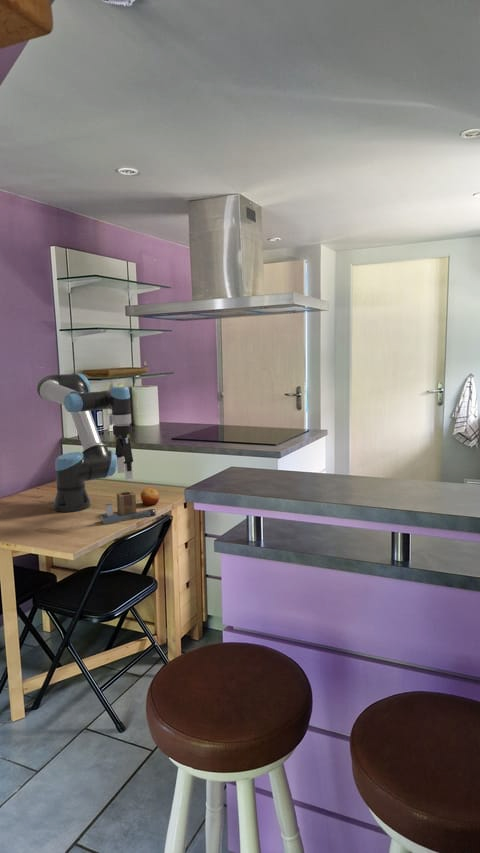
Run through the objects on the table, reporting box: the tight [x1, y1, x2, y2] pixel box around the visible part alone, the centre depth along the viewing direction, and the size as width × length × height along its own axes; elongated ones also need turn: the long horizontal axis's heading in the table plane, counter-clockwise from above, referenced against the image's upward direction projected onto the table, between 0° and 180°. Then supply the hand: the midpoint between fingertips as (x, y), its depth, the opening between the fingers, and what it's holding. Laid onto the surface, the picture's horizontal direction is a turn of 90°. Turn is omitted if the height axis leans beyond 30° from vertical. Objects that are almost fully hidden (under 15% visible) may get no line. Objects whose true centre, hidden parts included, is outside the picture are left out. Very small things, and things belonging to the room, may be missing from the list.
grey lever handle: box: [100, 503, 157, 526], centre depth 216 cm, size 5×22×7 cm, turn 116°
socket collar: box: [116, 490, 137, 514], centre depth 224 cm, size 6×6×8 cm
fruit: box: [140, 487, 160, 507], centre depth 236 cm, size 8×8×8 cm
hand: (125, 475), depth 222 cm, fingers open, 13 cm apart
